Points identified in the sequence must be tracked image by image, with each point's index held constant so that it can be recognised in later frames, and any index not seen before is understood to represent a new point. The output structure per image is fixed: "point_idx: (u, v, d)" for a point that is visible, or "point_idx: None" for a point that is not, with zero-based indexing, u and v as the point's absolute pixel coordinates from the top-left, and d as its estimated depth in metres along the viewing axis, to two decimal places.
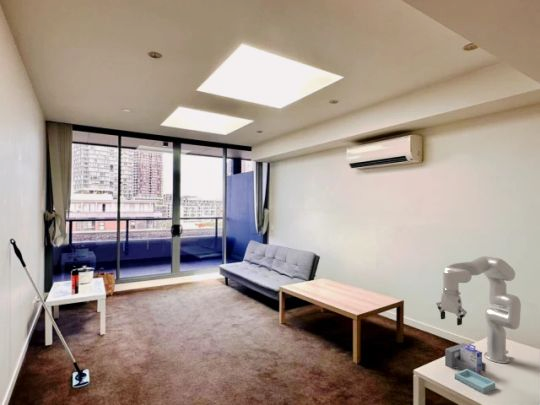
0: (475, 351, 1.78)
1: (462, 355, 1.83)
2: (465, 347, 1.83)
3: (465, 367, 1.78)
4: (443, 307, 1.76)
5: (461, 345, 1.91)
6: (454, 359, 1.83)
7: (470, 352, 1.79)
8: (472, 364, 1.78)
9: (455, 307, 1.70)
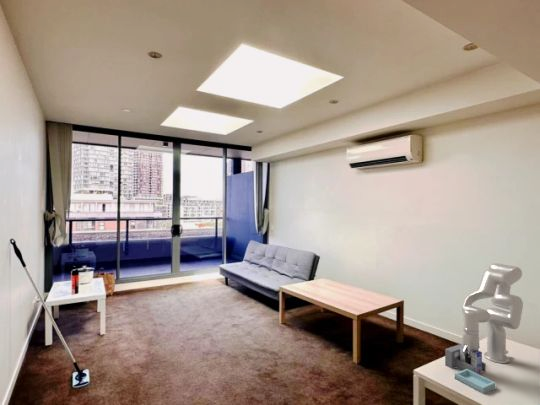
0: (475, 351, 1.78)
1: (462, 355, 1.83)
2: None
3: (465, 367, 1.78)
4: (471, 349, 1.78)
5: (461, 345, 1.91)
6: (454, 359, 1.83)
7: None
8: (472, 364, 1.78)
9: (478, 343, 1.81)
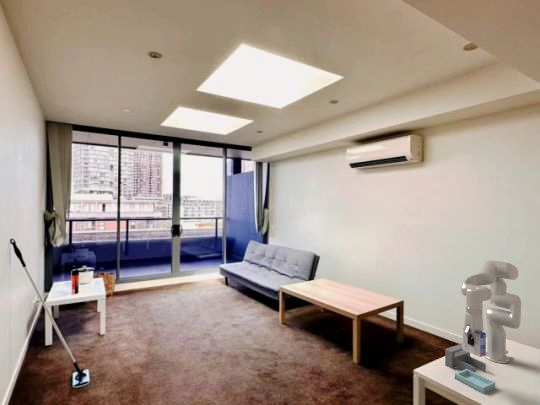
0: (478, 332, 1.65)
1: (464, 337, 1.70)
2: None
3: (465, 367, 1.78)
4: (474, 330, 1.65)
5: (461, 345, 1.91)
6: (454, 359, 1.83)
7: None
8: (475, 346, 1.65)
9: (482, 324, 1.68)
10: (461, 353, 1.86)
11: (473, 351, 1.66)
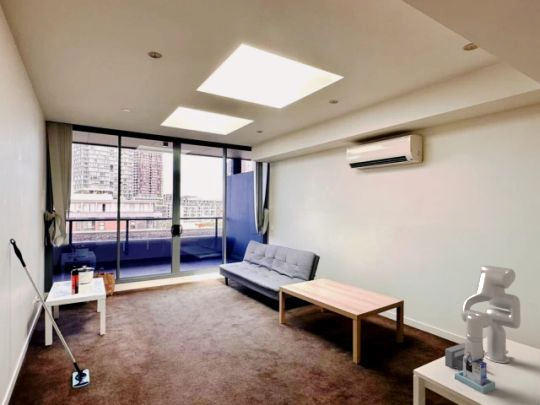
0: (479, 362, 1.65)
1: (465, 366, 1.70)
2: None
3: None
4: (475, 358, 1.64)
5: (461, 345, 1.91)
6: (454, 359, 1.83)
7: (474, 363, 1.66)
8: (476, 376, 1.65)
9: (482, 351, 1.67)
10: (461, 353, 1.86)
11: (473, 380, 1.66)
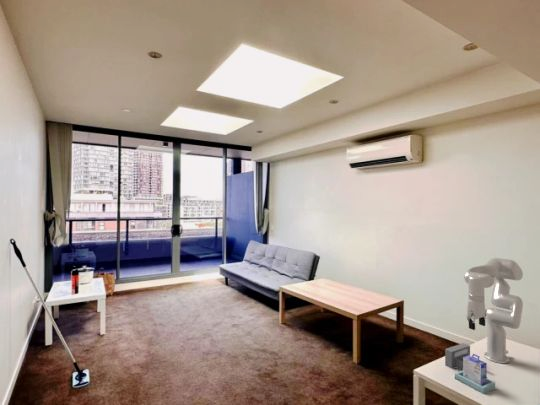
0: (479, 362, 1.65)
1: (465, 366, 1.70)
2: (468, 357, 1.70)
3: None
4: (477, 316, 1.72)
5: (461, 345, 1.91)
6: (454, 359, 1.83)
7: (474, 363, 1.66)
8: (476, 376, 1.65)
9: (484, 310, 1.75)
10: (461, 353, 1.86)
11: (473, 380, 1.66)
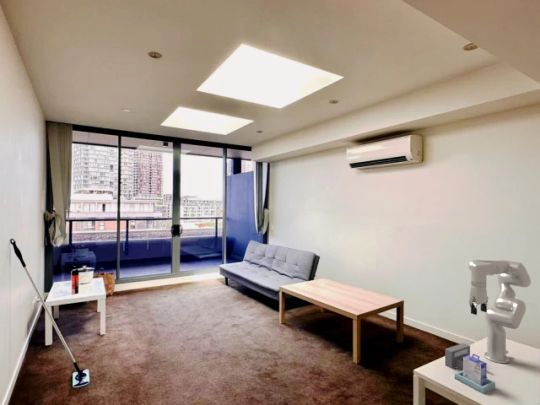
0: (479, 362, 1.65)
1: (465, 366, 1.70)
2: (468, 357, 1.70)
3: None
4: (479, 301, 1.79)
5: (461, 345, 1.91)
6: (454, 359, 1.83)
7: (474, 363, 1.66)
8: (476, 376, 1.65)
9: (486, 296, 1.82)
10: (461, 353, 1.86)
11: (473, 380, 1.66)
